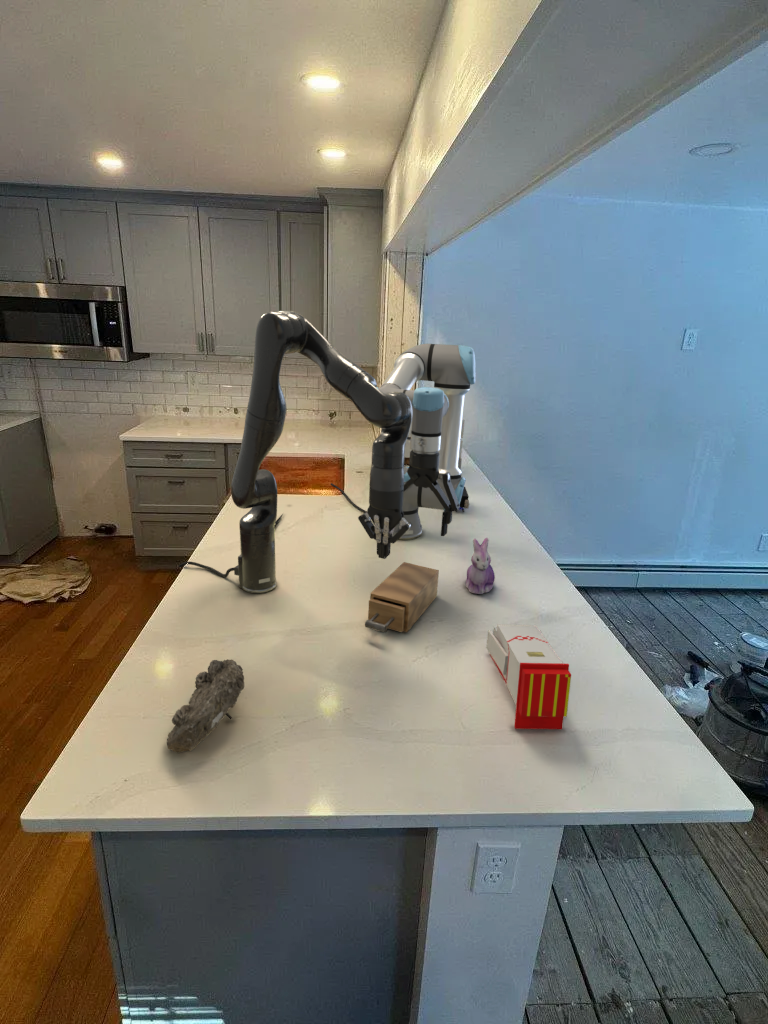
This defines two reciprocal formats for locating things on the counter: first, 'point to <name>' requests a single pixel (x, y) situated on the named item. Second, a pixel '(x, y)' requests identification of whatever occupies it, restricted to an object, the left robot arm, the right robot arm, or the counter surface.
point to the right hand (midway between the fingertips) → (419, 529)
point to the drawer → (385, 615)
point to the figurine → (480, 569)
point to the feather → (278, 520)
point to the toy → (531, 675)
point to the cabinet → (409, 590)
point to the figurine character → (464, 500)
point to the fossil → (206, 705)
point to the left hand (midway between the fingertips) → (383, 557)
